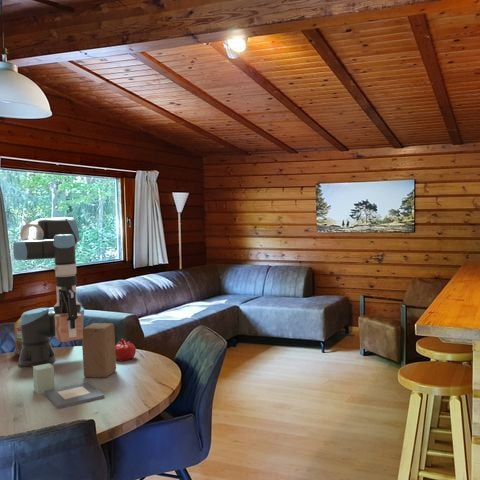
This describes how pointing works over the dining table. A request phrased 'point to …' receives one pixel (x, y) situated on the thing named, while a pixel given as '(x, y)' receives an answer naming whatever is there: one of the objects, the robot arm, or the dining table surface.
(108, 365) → the wooden block
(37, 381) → the sage block
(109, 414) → the dining table surface
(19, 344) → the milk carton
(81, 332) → the terracotta block
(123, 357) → the pomegranate
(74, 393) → the board
